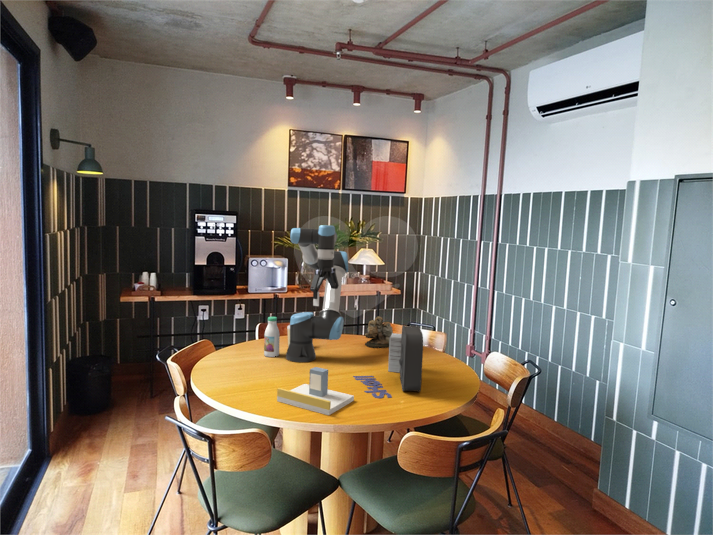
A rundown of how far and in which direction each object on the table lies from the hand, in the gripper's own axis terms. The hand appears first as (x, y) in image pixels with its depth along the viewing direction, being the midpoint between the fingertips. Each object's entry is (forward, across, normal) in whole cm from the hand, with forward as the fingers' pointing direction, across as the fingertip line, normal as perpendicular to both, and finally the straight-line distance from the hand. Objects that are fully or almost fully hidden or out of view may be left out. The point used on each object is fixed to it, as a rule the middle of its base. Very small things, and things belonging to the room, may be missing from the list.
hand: (324, 304), depth 226 cm
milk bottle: (+32, +5, +35) cm, 48 cm away
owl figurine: (+32, +58, 0) cm, 66 cm away
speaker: (+32, +5, -42) cm, 53 cm away
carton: (+30, -32, -20) cm, 48 cm away
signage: (+32, -6, -30) cm, 44 cm away
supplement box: (+32, +23, -29) cm, 49 cm away
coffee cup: (+32, +25, +35) cm, 54 cm away
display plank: (+32, -34, -20) cm, 51 cm away
